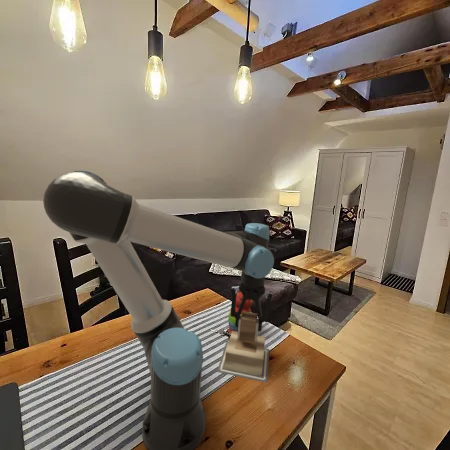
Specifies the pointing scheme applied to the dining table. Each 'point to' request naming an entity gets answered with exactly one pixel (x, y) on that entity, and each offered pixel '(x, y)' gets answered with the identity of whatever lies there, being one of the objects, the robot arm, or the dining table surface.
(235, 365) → the plinth block
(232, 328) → the stacking bear
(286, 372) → the dining table surface
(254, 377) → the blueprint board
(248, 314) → the walnut block
